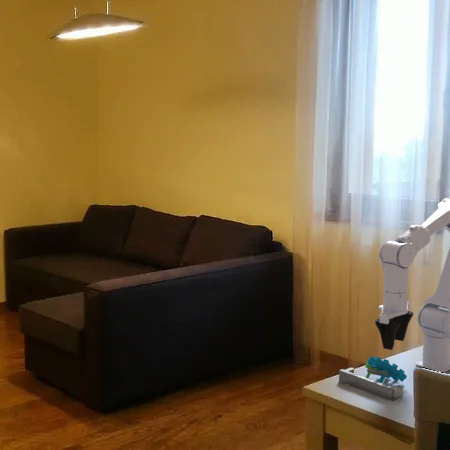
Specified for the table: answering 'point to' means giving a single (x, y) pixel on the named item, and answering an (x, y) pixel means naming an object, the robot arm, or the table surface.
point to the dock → (370, 385)
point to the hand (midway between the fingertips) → (393, 344)
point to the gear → (384, 369)
